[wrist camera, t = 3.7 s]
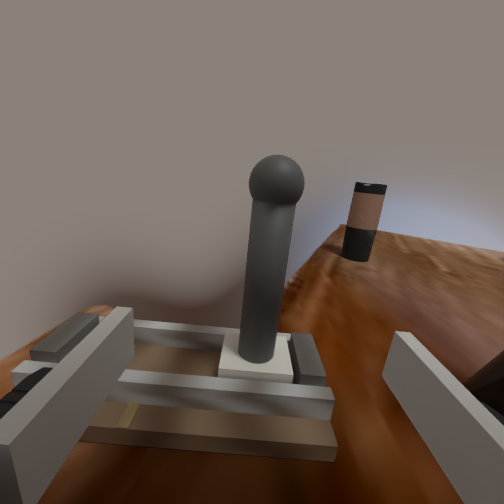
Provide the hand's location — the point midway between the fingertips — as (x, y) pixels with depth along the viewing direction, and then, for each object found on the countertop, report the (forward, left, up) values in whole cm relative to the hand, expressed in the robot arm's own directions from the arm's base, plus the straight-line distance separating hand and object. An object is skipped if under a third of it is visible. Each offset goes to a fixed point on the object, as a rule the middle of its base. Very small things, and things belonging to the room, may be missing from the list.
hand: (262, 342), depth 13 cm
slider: (+7, -4, -9) cm, 12 cm away
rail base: (+10, +1, -11) cm, 15 cm away
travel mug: (+35, -53, -11) cm, 65 cm away
